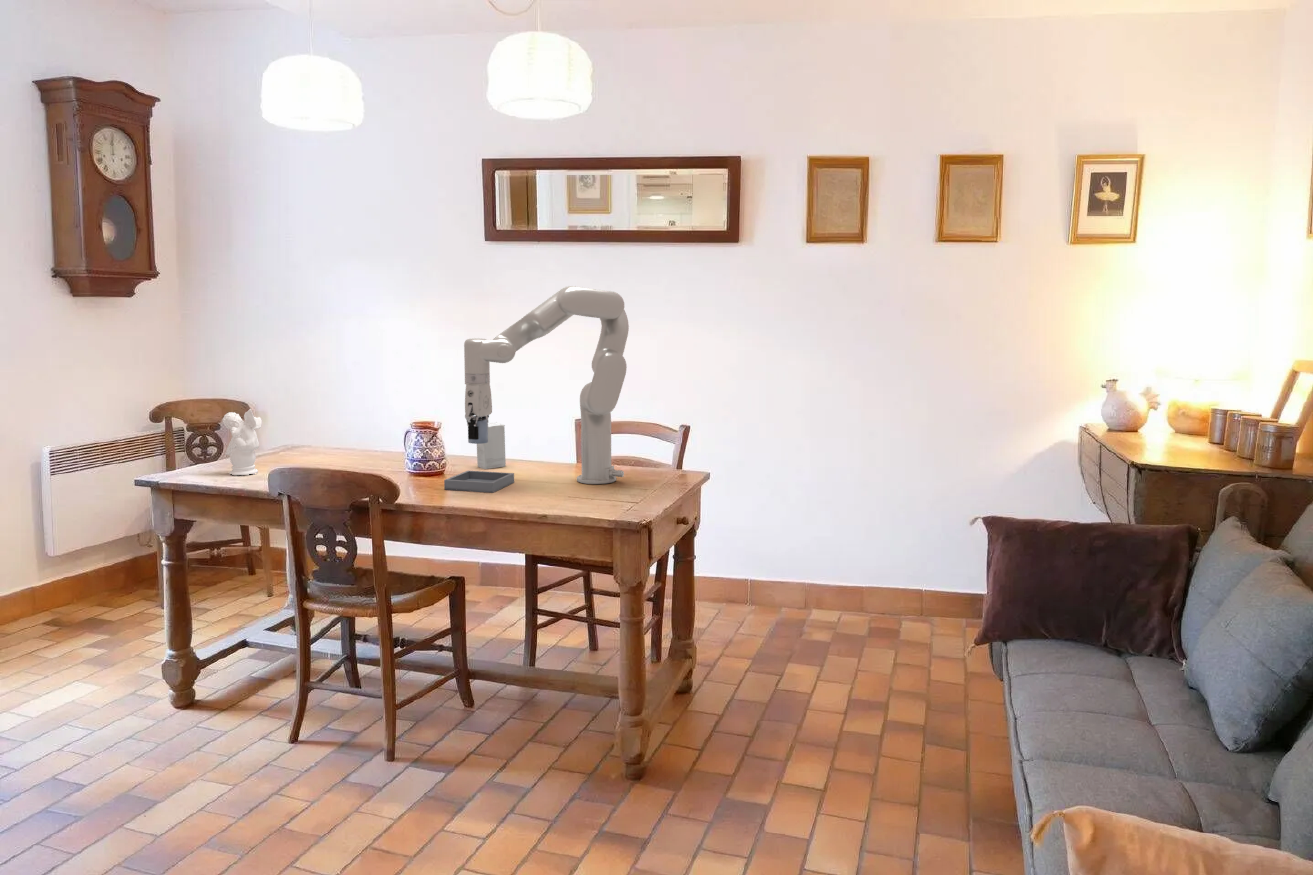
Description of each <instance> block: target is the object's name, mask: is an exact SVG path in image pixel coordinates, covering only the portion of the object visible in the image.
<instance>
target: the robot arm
mask: <svg viewBox="0 0 1313 875" xmlns="http://www.w3.org/2000/svg"><path fill="white" fill-rule="evenodd" d="M573 316H580V317H585V318H586V317H587V318H597V319H599V320H600V323H601V328H600V335H599V338H598V342H597V345H596V349H595V352H594V354H593V357H592V360H591V369H592V372H593V376H592V379H591V381H590V382H589V383H586V384H585V385H584V386H583V387H582V389H581V391H580V395H579V408H580V420H581V421H580V422H581V424H580V426H581V427H580V428H581V431H580V432H581V434H580V435H581V436H580V437H581V438H580V439H581V441H580V443H581V445H580V447H581V448H580V449H581V474H579V475H577V477H576V481H577V482H578V483H581V484H587V485H604V484H610V483H611V484H612V483H614V482H616V481H617V478H623V477H624V475H625V472H624V471H623V470H620V469H618V470H617V469H615V465H612V413H611V412H612V411H614V409H615V408H616V406H617V404H618V401H619V399H620V398H619V397H620V395H621V391H622V389H623V384H624V382H625V379H626V373H627V367H628V366H627V361H626V359H625V357H624V352H625V349H626V344H627V339H628V336H629V327H630V326H629V320H628V315H627V313H626V311H625V301H624V299H623V297H622V295H620V294H619V293H618V292H615V291H611V290H601V289H594V288H593V289H592V288H586V287H581V286H576V285H575V286H573V285H571V286H570V285H568V286H565V287H563V288H560V289H559V290H557V292H555V293H553V295H552V296H550V297H548V298H547V299H546V300H544V301H543V302H542V303H541V304H539V305H538V306H536V307H534V308H533V309H532V310H531V311H530V312H528V313H526V314H525V315H524V316H523V317H521V319H519V320H517V321H516V322H515V323H513V324H512V325H510V326H509V327H508V328H505V329H504V330H503V331H502V332H500V333H499V334H498V335H496V336H495V337H493V339H486V338H479V337H478V338H475V337H474V338H467V339H465V341H464V343H463V354H464V385H465V391H464V392H465V393H464V413H465V414H464V418H465V420H466V423H467V424H466V426H467V439H474V440H477V439H479V435H478V426H477V423H478V418H484V419H488V420H489V418H490V415H491V414H492V413H493V399H492V391H491V384H490V383H491V377H490V376H491V375H490V374H491V373H490V371H491V370H490V369H491V368H490V367H491V366H490V363H496V364H497V363H498V364H507V363H510V362H511V361H512V360H513V359H514V358H515V356H516V352H517V351H519V350H520V349H523V347H524V346H526V345H528V344H529V343H531V342H533V341H535V340H537V339H540V338H542V337H545V336H546V335H548V334H549V333H551V332H552V331H553V330H555V329H556V328H558V327H559V326H560V325H562V324H563V323H564V322H565V321H567V320H569V319H570V318H571V317H573ZM473 419H475V421H474V420H473Z"/></svg>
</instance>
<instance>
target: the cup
mask: <svg viewBox="0 0 1313 875" xmlns="http://www.w3.org/2000/svg"><path fill="white" fill-rule="evenodd" d="M473 420H474V421H475V419H473ZM488 424H489V418H488V419H484V418H482V417H481V418H478V423H477V426H478V435H479V439H477V440H474V439H468V438H467V439H468V440H467V443H468V444H471V445H472V444H474V445H475V444H476V445H477V444H482V443H488Z"/></svg>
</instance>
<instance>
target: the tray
mask: <svg viewBox="0 0 1313 875" xmlns="http://www.w3.org/2000/svg"><path fill="white" fill-rule="evenodd" d="M443 483H444V484H443V485H444V486H443V487H444V491H457V492H458V491H460V492H476V493H489V494H490V493H491V494H492V493H496V492H498V491H500V490H502V489H503V488H506V487H508V486H510V485H513V484H514V483H515V473H514V472H502V471H501V472H497V471H484V470H483V471H481V470H465V471H463V472H461V473H458V474H456V475H453V476H451V477H448V478H446V479H444V482H443Z"/></svg>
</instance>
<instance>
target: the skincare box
mask: <svg viewBox="0 0 1313 875" xmlns="http://www.w3.org/2000/svg"><path fill="white" fill-rule="evenodd" d="M505 426H506V425H505V424H503V423H498V422H489V423H488V443H482V444H476V459H477V464H476V465H477V468H480V469H483V470H489V469H496V468H502V467H506V466H507V465H506V436H505V432H506V431H505Z"/></svg>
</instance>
